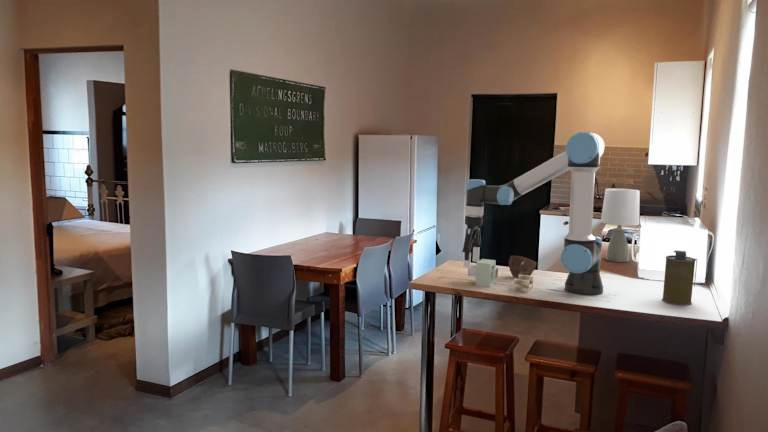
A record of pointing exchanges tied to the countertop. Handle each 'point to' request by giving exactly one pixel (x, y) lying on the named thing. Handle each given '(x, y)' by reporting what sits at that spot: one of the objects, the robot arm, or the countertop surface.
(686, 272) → the canister
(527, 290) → the cradle
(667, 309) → the countertop surface
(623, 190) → the lamp
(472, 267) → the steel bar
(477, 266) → the pale green block
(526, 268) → the rock
